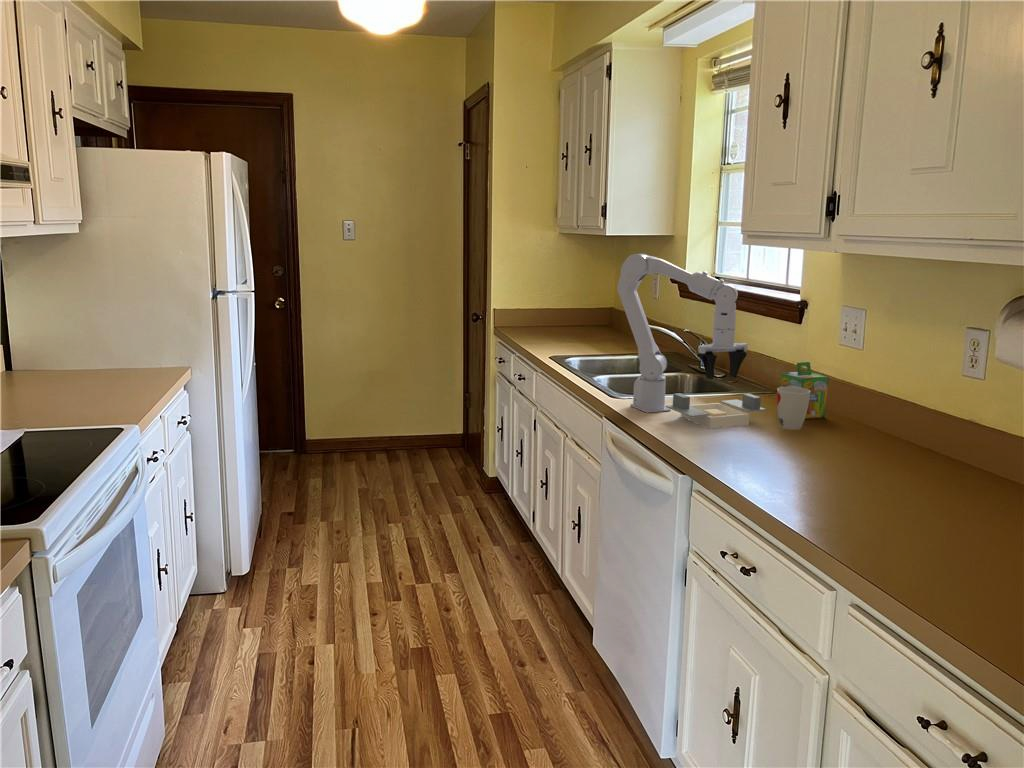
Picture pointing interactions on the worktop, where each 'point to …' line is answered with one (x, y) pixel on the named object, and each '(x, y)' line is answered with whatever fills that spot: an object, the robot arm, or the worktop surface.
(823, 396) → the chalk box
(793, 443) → the worktop surface
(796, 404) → the cup
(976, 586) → the worktop surface
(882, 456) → the worktop surface
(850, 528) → the worktop surface
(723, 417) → the carton
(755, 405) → the flap far
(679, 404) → the flap near
